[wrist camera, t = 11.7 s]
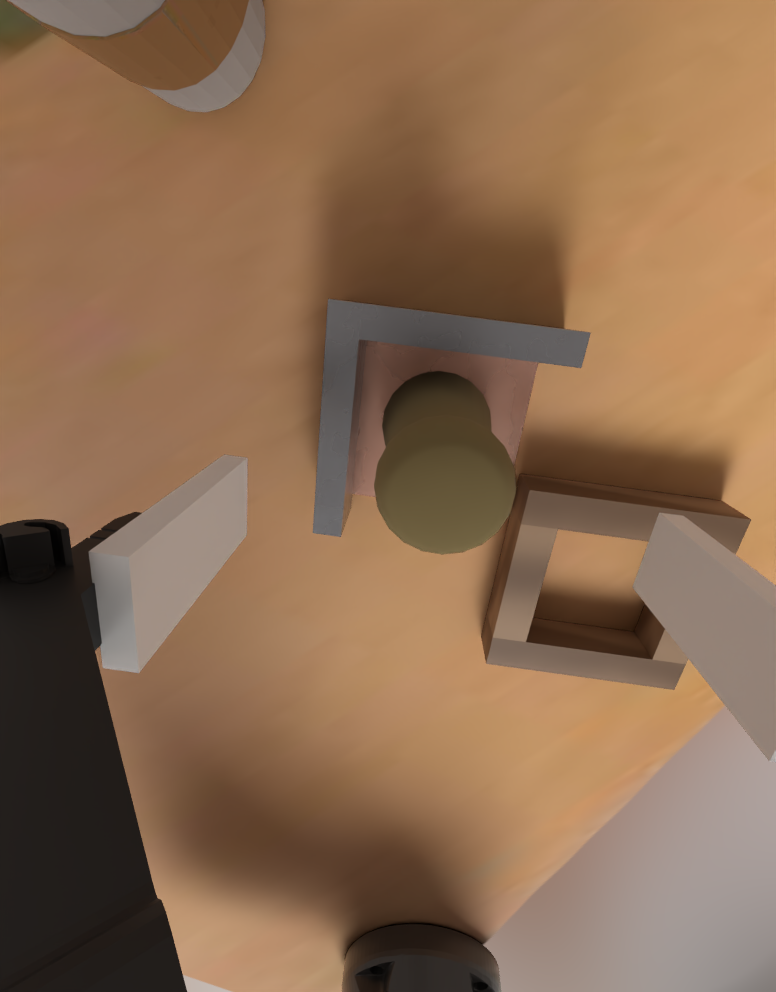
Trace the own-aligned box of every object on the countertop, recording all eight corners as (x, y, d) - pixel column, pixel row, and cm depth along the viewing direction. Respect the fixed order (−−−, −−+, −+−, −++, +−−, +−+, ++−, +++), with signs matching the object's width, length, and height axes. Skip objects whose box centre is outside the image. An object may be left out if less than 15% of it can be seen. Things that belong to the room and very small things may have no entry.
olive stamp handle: (426, 347, 25) (430, 376, 14) (514, 415, 26) (576, 488, 16) (360, 437, 27) (323, 518, 16) (445, 497, 28) (459, 608, 18)
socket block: (654, 660, 31) (674, 689, 29) (481, 636, 32) (486, 663, 29) (722, 500, 27) (751, 519, 25) (520, 473, 27) (529, 489, 25)
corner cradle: (515, 529, 29) (529, 562, 25) (326, 503, 29) (312, 533, 25) (564, 328, 24) (590, 332, 20) (342, 300, 24) (328, 298, 21)
